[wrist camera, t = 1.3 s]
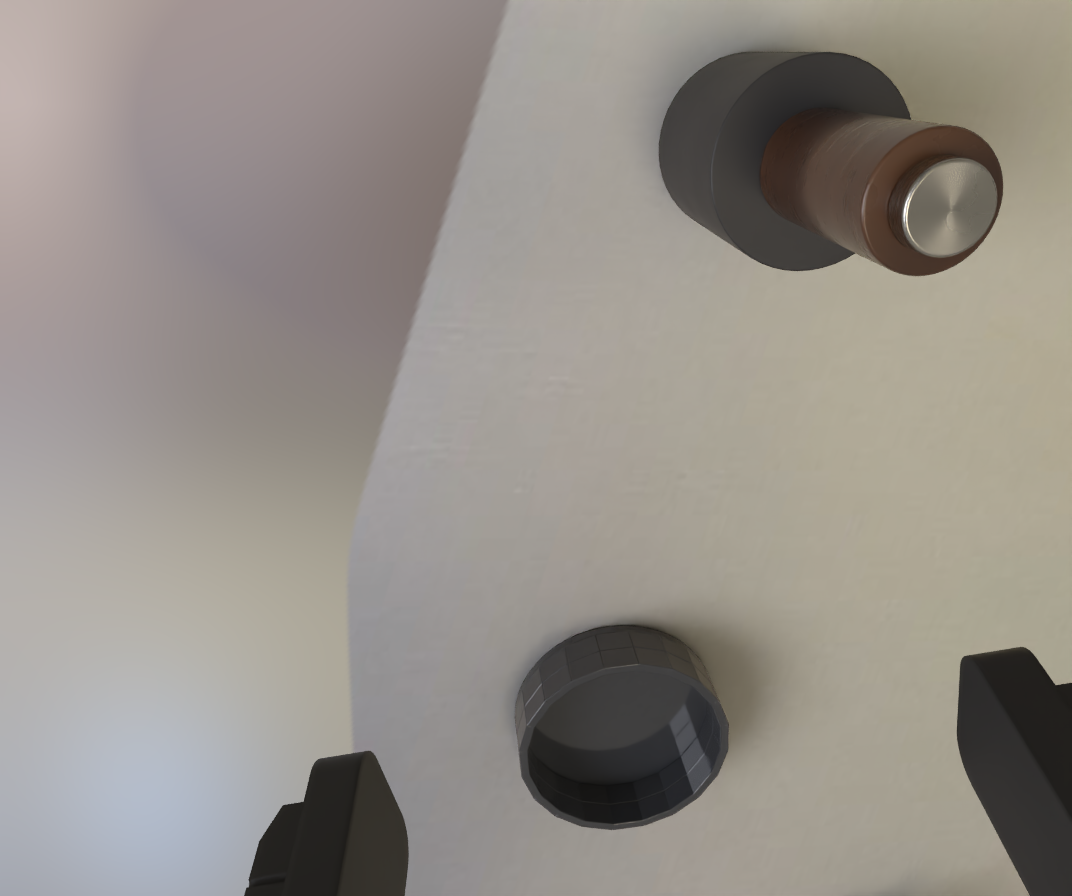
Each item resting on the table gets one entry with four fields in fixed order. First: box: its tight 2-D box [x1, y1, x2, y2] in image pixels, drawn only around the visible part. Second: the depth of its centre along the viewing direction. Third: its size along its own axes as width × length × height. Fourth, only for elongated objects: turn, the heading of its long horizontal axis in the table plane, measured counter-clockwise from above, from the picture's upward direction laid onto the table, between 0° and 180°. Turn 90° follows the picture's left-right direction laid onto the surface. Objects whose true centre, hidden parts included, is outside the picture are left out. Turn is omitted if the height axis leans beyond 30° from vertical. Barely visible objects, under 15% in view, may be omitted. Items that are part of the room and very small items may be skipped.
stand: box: [659, 52, 911, 271], centre depth 30 cm, size 6×6×7 cm
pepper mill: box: [760, 108, 1003, 276], centre depth 23 cm, size 3×3×8 cm
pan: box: [515, 626, 729, 830], centre depth 42 cm, size 10×10×3 cm
